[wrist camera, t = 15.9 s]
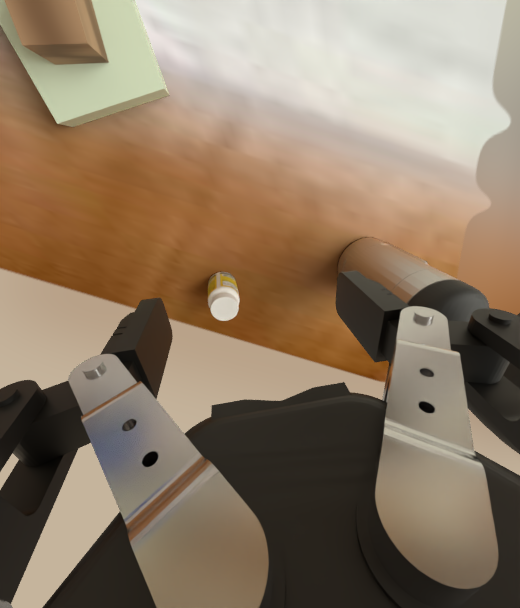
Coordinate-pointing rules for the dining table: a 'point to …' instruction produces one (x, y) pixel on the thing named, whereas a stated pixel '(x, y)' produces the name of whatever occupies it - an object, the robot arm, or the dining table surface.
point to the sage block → (97, 68)
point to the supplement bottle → (223, 296)
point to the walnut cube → (59, 30)
